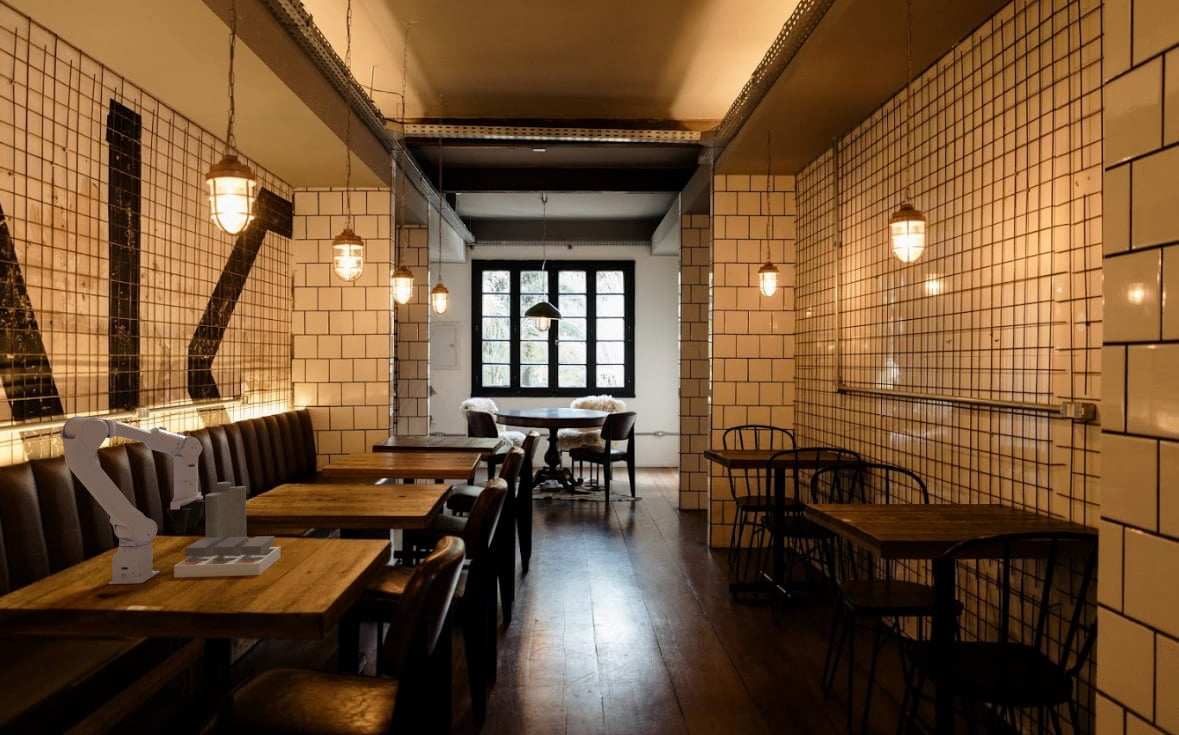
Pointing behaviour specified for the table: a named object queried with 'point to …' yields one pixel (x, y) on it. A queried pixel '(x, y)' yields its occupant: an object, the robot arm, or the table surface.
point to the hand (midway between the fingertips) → (186, 530)
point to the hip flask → (226, 512)
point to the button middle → (229, 546)
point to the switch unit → (227, 564)
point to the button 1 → (202, 547)
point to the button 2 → (257, 545)
